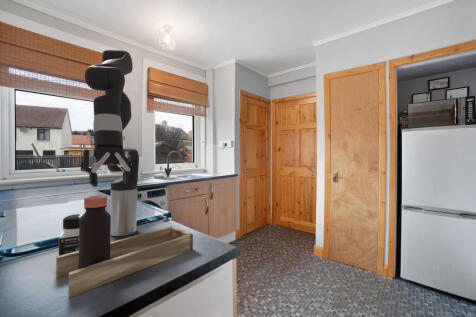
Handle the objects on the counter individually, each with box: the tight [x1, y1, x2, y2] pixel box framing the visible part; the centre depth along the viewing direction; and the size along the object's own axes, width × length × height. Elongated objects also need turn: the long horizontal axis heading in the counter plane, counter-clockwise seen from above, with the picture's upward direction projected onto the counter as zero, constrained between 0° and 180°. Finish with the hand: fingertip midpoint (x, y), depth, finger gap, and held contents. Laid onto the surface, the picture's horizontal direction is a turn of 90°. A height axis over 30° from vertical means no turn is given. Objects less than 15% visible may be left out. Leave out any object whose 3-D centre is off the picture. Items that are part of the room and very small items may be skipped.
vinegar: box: [79, 195, 112, 269], centre depth 56 cm, size 7×7×20 cm
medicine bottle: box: [58, 213, 84, 256], centre depth 67 cm, size 7×7×12 cm
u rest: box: [55, 225, 194, 298], centre depth 64 cm, size 12×33×5 cm, turn 140°
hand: (111, 185), depth 66 cm, fingers open, 8 cm apart
